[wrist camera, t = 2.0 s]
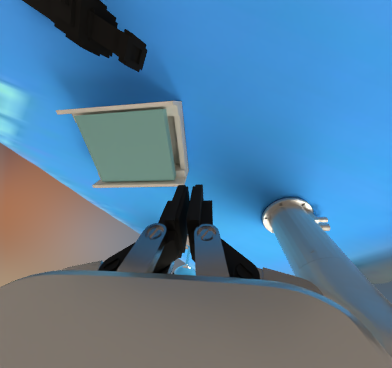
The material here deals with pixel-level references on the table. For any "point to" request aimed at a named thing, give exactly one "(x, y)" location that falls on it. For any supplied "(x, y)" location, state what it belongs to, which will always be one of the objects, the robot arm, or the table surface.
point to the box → (176, 137)
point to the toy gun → (93, 29)
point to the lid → (129, 145)
